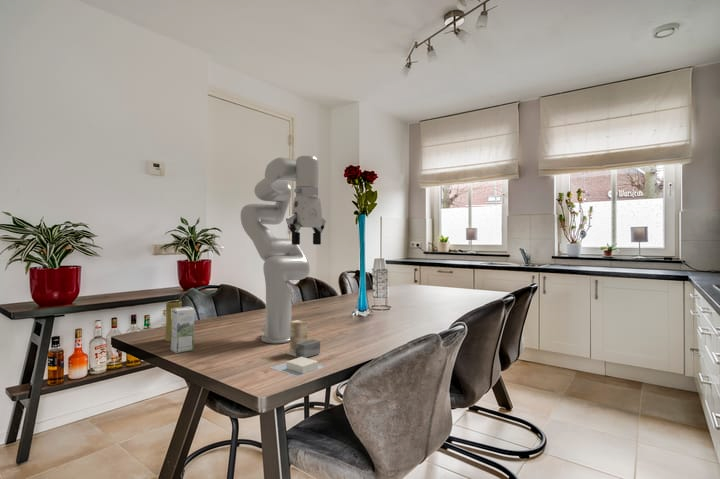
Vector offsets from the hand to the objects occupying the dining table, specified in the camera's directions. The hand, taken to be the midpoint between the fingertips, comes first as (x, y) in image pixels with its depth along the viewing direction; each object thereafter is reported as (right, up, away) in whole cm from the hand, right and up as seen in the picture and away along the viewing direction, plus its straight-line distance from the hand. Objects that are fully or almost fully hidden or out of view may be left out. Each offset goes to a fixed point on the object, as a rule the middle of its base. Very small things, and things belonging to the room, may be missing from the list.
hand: (306, 244), depth 129 cm
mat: (0, -36, -16) cm, 40 cm away
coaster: (-2, -36, -2) cm, 36 cm away
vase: (-52, -36, +15) cm, 65 cm away
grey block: (-1, -36, -3) cm, 36 cm away
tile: (-2, -35, -15) cm, 38 cm away
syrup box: (-42, -36, +1) cm, 56 cm away
